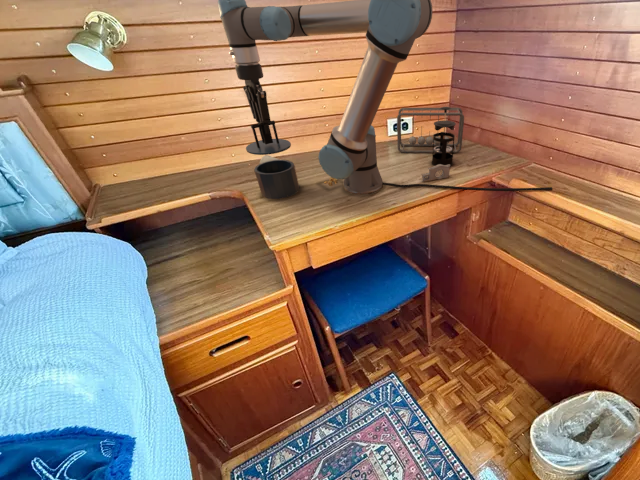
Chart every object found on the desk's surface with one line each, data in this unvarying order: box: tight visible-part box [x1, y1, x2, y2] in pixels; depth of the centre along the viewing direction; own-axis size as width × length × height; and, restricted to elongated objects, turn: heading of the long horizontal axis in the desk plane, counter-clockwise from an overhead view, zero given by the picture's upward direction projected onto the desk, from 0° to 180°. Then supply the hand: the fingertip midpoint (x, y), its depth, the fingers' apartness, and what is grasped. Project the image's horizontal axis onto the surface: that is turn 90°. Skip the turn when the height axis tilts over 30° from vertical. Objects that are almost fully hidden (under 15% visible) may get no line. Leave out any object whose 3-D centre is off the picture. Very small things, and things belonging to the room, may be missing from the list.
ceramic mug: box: [258, 154, 281, 165], centre depth 138 cm, size 11×8×8 cm
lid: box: [245, 120, 292, 156], centre depth 113 cm, size 15×15×9 cm
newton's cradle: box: [396, 107, 465, 154], centre depth 155 cm, size 30×10×18 cm, turn 86°
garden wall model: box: [421, 164, 451, 182], centre depth 131 cm, size 12×2×6 cm, turn 110°
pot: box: [253, 159, 300, 200], centre depth 123 cm, size 14×14×10 cm
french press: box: [431, 106, 456, 167], centre depth 139 cm, size 12×9×23 cm
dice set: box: [324, 177, 339, 187], centre depth 130 cm, size 5×5×2 cm
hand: (267, 142), depth 114 cm, fingers closed on lid
